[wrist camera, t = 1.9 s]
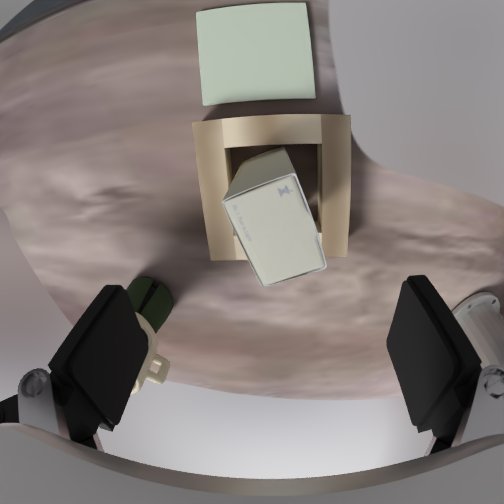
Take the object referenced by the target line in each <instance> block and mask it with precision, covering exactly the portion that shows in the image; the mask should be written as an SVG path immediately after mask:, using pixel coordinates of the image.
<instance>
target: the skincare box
mask: <svg viewBox="0 0 504 504" xmlns="http://www.w3.org/2000/svg"><path fill="white" fill-rule="evenodd" d="M222 204H223V207H224V209H225V212H226V214H227V216H228V219H229V221H230V223H231V225H232V228H233V230H234V232H235V234H236V236H237V238H238V241H239V243H240V245H241V247H242V249H243V251H244V253H245V255H246V257H247V259H248V261H249V263H250V265H251V267H252V269H253V271H254V273H255V275H256V277H257V279H258V281H259V283H260V285H261V286H262V287H266V286H270V285H273V284H277V283H281V282H284V281H288V280H291V279H294V278H298V277H301V276H305V275H308V274H311V273H314V272H317V271H320V270H323V269H325V268H326V267H327V262H326V259H325V255H324V251H323V248H322V245H321V241H320V238H319V235H318V232H317V228H316V225H315V222H314V220H313V217H312V214H311V211H310V208H309V206H308V203H307V200H306V198H305V195H304V192H303V190H302V187H301V185H300V182H299V180H298V177H297V174H296V172H295V170H294V167H293V165H292V163H291V161H290V158H289V156H288V154H287V152H286V149H285V147H284V146H282V147H279V148H276V149H273V150H270V151H267V152H264V153H262V154H259V155H257V156H254V157H252V158H249V159H247V160H245V161H243V162H242V163H241V165H240V167H239V169H238V171H237V173H236V175H235V177H234V179H233V181H232V183H231V185H230V187H229V189H228V191H227V193H226V195H225V197H224V199H223V201H222Z"/></svg>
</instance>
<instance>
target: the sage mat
mask: <svg viewBox="0 0 504 504" xmlns="http://www.w3.org/2000/svg"><path fill="white" fill-rule="evenodd" d="M196 20H197V35H198V49H199V62H200V75H201V86H202V97H203V106H208V105H215V104H224V103H233V102H244V101H256V100H274V99H315V84H314V72H313V61H312V51H311V41H310V33H309V24H308V17H307V9H306V3H266V4H251V5H241V6H232V7H224V8H218V9H211V10H206V11H200V12H196Z"/></svg>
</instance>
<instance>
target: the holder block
mask: <svg viewBox="0 0 504 504" xmlns="http://www.w3.org/2000/svg"><path fill="white" fill-rule="evenodd" d="M350 120H351V119H350V115H339V114H283V115H262V116H247V117H236V118H226V119H216V120H208V121H201V122H194V123H192V126H193V135H194V144H195V152H196V161H197V169H198V176H199V184H200V191H201V199H202V206H203V213H204V220H205V226H206V233H207V240H208V246H209V252H210V258H211V261H218V260H248V259H247V257H246V255H245V253H244V251H243V249H242V247H241V245H240V243H239V241H238V238H237V236H236V234H235V232H234V230H233V228H232V225H231V223H230V221H229V219H228V216H227V214H226V212H225V209H224V207H223V204H222V201H223V199H224V197H225V195H226V193H227V191H228V189H229V187H230V185H231V183H232V181H233V171H232V161H231V150H230V147H242V146H257V145H276V144H317V171H318V221H314V222H315V225H316V228H317V232H318V235H319V238H320V241H321V245H322V248H323V251H324V255H325V257H347V246H348V232H349V216H350V194H351V121H350Z"/></svg>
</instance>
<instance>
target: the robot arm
mask: <svg viewBox="0 0 504 504" xmlns="http://www.w3.org/2000/svg"><path fill="white" fill-rule="evenodd" d="M387 349H388V352H389V355H390V358H391V360H392V363H393V366H394V369H395V372H396V375H397V378H398V381H399V383H400V387H401V390H402V393H403V396H404V399H405V402H406V405H407V408H408V412H409V415H410V419H411V422H412V424H413V425H414V426H417V429H418V433H420V432H423V431H427V430H430V429H432V432H433V439H432V441H431V443H430V445H429V447H428V449H427V451H426V453H425V455H424V457H421V458H417V459H414V460H410V461H406V462H402V463H398V464H394V465H390V466H385V467H381V468H376V469H372V470H366V471H360V472H355V473H348V474H341V475H333V476H324V477H312V478H296V479H245V478H229V477H218V476H209V475H201V474H194V473H187V472H181V471H176V470H170V469H165V468H160V467H155V466H151V465H147V464H143V463H139V462H135V461H131V460H128V459H124V458H120V457H117V456H114V455H110V454H108V453H105V452H104V450H103V447H102V445H101V442H100V439H99V437H98V434H97V429H98V426H99V427H100V428H102V429H105V430H108V431H113V429H114V427H115V425H118V424H119V422H120V420H121V417H122V414H123V412H124V409H125V406H126V404H127V402H128V399H129V397H130V394H131V392H132V389H133V387H134V385H135V382H136V380H137V377H138V375H139V373H140V370H141V368H142V365H143V363H144V361H145V358H146V356H147V354H148V350H149V346H148V342H147V340H146V338H145V335H144V333H143V330H142V328H141V326H140V323H139V321H138V318H137V316H136V313H135V311H134V308H133V305H132V303H131V300H130V297H129V295H128V292H127V291H126V290H125V289H124V288H123V287H122V286H121V285H106V286H104V287H103V289H102V290H101V291H100V293H99V294H98V295H97V296H96V298H95V299H94V300H93V302H92V303H91V304H90V306H89V307H88V308H87V310H86V311H85V312H84V314H83V315H82V316H81V318H80V319H79V320H78V322H77V323H76V325H75V326H74V327H73V329H72V330H71V332H70V333H69V335H68V336H67V337H66V339H65V340H64V342H63V343H62V345H61V346H60V347H59V349H58V351H57V352H56V353H55V355H54V356H53V358H52V360H51V361H50V363H49V364H48V366H49V368H50V369H51V373H50V374H49V373H48V372H47V371H46V370H44V369H42V368H37V369H33V370H31V371H29V372H28V373H26V374H25V375H24V376H23V378H22V379H21V380H20V383H19V386H18V394H17V395H14V396H12V397H10V398H8V399H5V400H3V401H1V402H0V504H504V318H503V317H502V316H501V314H500V302H499V300H498V298H497V297H496V296H495V295H494V294H493V293H491V292H480V293H477V294H475V295H473V296H471V297H469V298H467V299H466V300H464V301H463V302H462V303H461V304H459V305H458V306H457V307H456V308H455V309H454V310H453V311H452V312H451V310H450V309H449V308H448V306H447V305H446V303H445V302H444V300H443V299H442V297H441V296H440V295H439V293H438V292H437V290H436V289H435V288H434V286H433V285H432V283H431V282H430V281H429V279H428V278H427V277H426V276H425V275H415V276H409V277H408V278H407V280H406V281H404V282H403V283H402V287H401V291H400V295H399V299H398V303H397V306H396V310H395V314H394V317H393V321H392V324H391V327H390V331H389V334H388V337H387Z"/></svg>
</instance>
